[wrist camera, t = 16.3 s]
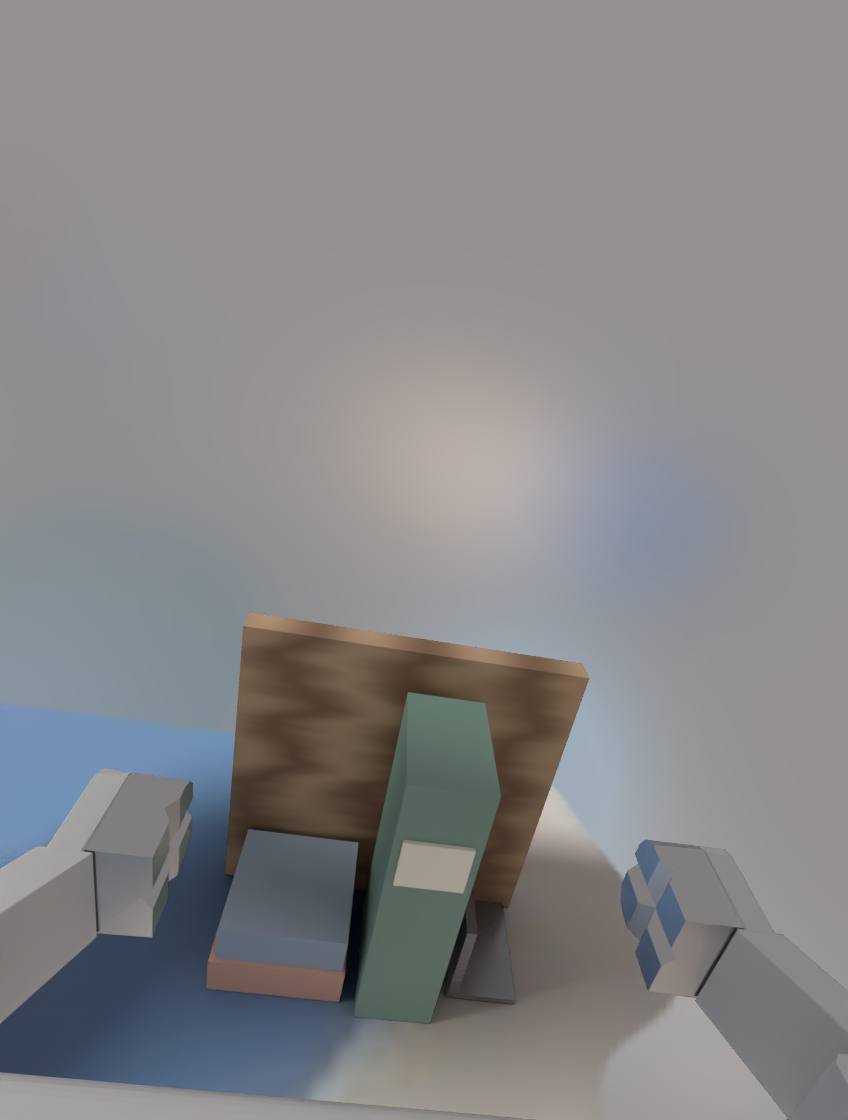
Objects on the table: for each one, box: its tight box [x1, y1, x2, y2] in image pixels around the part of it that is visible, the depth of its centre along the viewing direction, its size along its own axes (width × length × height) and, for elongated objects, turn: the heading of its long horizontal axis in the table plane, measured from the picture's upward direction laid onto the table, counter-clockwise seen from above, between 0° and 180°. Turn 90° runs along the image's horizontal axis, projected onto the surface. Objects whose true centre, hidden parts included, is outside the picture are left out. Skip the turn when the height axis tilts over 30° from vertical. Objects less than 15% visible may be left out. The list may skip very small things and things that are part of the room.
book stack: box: [206, 829, 358, 1002], centre depth 38 cm, size 8×7×5 cm
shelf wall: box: [225, 613, 589, 907], centre depth 40 cm, size 20×2×20 cm, turn 91°
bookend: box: [446, 888, 516, 1004], centre depth 39 cm, size 4×6×6 cm, turn 1°
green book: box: [354, 692, 501, 1024], centre depth 35 cm, size 4×7×18 cm, turn 1°
